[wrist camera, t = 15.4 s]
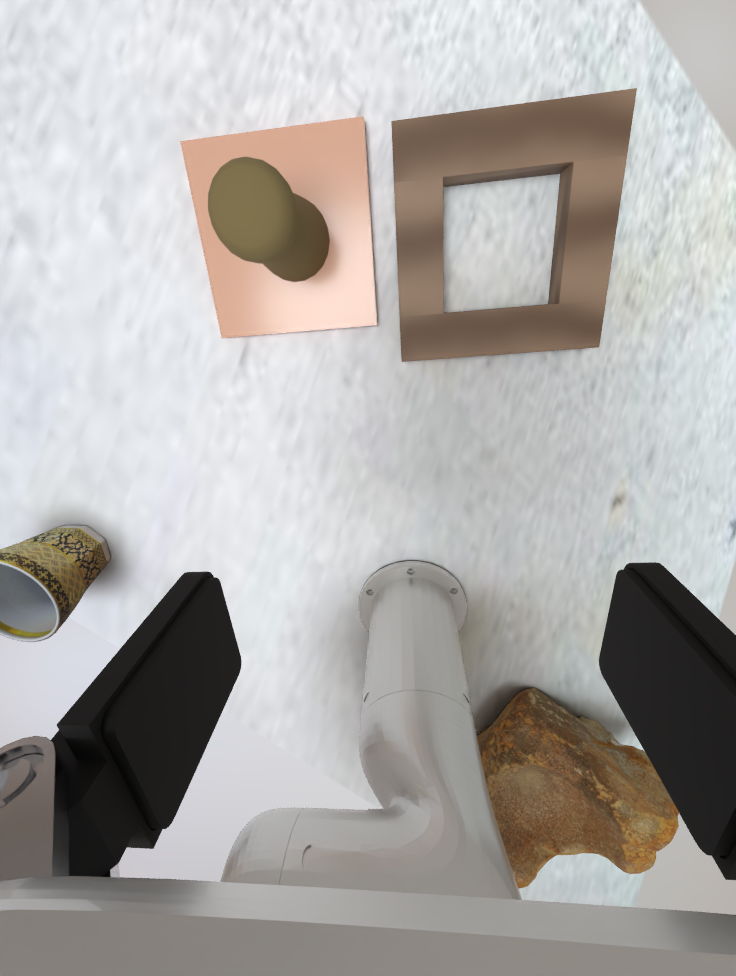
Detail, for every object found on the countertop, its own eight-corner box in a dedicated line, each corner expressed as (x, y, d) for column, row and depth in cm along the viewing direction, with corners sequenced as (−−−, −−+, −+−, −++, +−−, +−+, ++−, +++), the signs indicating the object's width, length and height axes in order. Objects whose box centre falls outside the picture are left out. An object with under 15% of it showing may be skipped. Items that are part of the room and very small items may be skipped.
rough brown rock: (578, 640, 48) (635, 762, 35) (645, 728, 52) (722, 871, 38) (424, 708, 56) (420, 828, 43) (490, 780, 59) (506, 914, 46)
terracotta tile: (377, 324, 35) (376, 325, 34) (226, 337, 36) (221, 338, 35) (364, 122, 29) (363, 116, 29) (186, 146, 31) (180, 141, 30)
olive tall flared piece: (298, 175, 30) (248, 107, 20) (344, 250, 32) (318, 221, 22) (241, 229, 32) (168, 190, 22) (287, 297, 34) (239, 290, 24)
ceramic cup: (64, 494, 45) (-22, 540, 35) (139, 549, 47) (76, 605, 38) (19, 560, 49) (-68, 617, 40) (90, 607, 51) (23, 671, 42)
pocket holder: (585, 345, 34) (599, 347, 32) (401, 358, 36) (401, 361, 34) (617, 106, 28) (636, 88, 26) (392, 136, 30) (391, 121, 27)
